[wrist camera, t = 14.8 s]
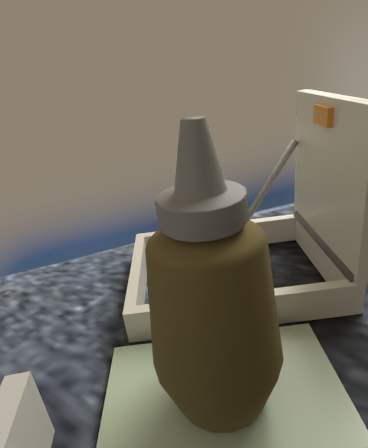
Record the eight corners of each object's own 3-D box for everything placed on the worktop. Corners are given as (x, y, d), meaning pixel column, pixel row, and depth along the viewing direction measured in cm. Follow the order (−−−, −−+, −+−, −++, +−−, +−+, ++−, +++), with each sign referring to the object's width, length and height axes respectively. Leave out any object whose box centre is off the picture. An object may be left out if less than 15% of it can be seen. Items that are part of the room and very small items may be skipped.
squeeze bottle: (305, 439, 20) (319, 117, 13) (166, 467, 20) (95, 149, 12) (260, 340, 27) (252, 99, 20) (158, 358, 27) (110, 119, 19)
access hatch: (303, 234, 43) (308, 89, 36) (367, 313, 30) (393, 103, 23) (140, 255, 43) (113, 114, 36) (129, 342, 30) (81, 143, 23)
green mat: (308, 329, 29) (308, 323, 28) (384, 470, 19) (385, 463, 18) (115, 353, 29) (114, 347, 29) (89, 505, 19) (86, 499, 19)
